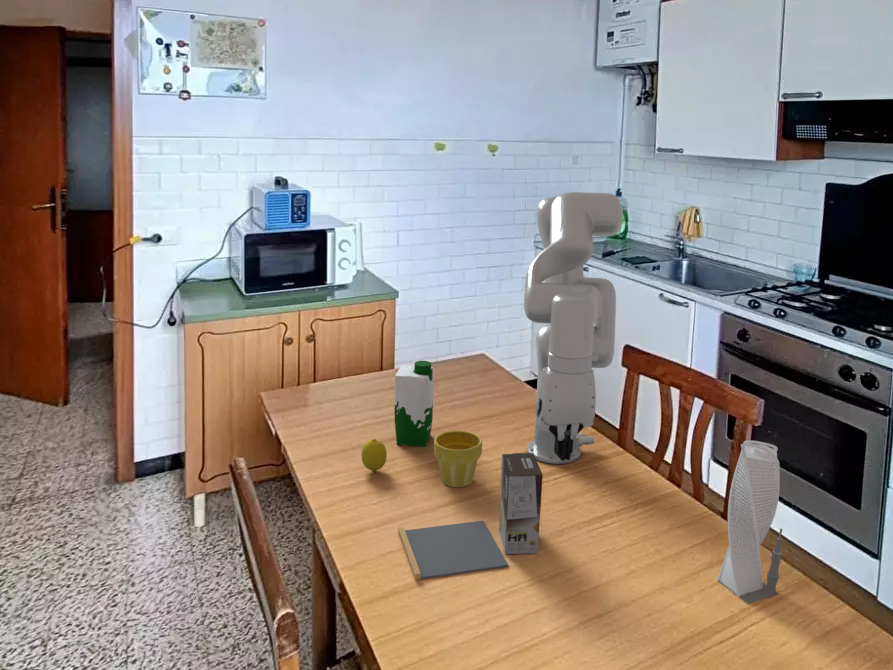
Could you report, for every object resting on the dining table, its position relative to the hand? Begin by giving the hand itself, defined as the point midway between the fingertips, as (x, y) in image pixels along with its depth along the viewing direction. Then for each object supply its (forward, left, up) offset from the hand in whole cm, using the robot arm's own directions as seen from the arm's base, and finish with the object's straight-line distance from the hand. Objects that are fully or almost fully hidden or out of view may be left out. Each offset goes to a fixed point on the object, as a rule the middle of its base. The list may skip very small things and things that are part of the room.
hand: (562, 456), depth 135 cm
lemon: (+30, -34, -17) cm, 48 cm away
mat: (+20, -1, -17) cm, 26 cm away
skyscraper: (-25, +21, -17) cm, 37 cm away
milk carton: (+18, -48, -17) cm, 54 cm away
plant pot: (+13, -26, -17) cm, 33 cm away
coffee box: (+8, -1, -17) cm, 19 cm away
